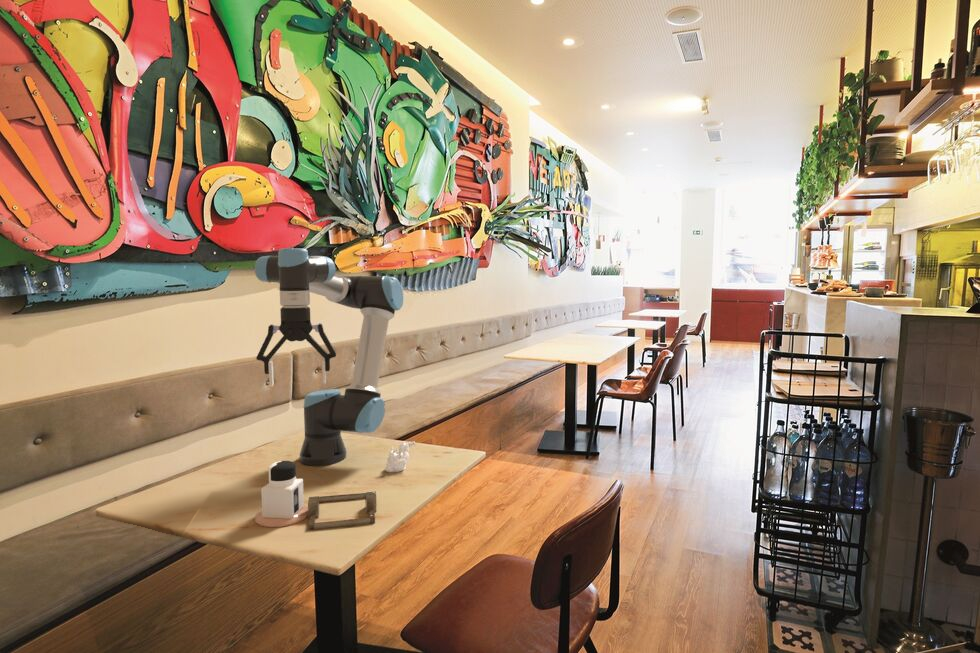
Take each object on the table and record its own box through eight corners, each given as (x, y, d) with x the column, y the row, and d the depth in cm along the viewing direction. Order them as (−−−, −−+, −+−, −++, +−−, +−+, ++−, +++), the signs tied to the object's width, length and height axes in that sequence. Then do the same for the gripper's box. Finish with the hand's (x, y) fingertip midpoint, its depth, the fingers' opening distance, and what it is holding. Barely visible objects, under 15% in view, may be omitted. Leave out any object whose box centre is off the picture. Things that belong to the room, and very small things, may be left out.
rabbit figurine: (405, 462, 184) (405, 433, 183) (423, 466, 180) (423, 437, 179) (379, 472, 174) (379, 442, 173) (397, 477, 170) (397, 446, 169)
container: (304, 506, 146) (303, 458, 145) (291, 519, 139) (289, 469, 138) (276, 505, 147) (274, 457, 146) (261, 518, 139) (260, 467, 138)
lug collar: (311, 501, 151) (310, 487, 151) (374, 496, 155) (374, 482, 155) (306, 530, 134) (305, 514, 134) (377, 523, 138) (377, 507, 138)
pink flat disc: (259, 507, 147) (259, 505, 147) (310, 503, 150) (310, 501, 150) (250, 529, 134) (250, 527, 134) (307, 524, 137) (307, 522, 137)
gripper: (242, 308, 141) (246, 390, 144) (343, 306, 148) (345, 384, 150) (247, 306, 149) (251, 383, 151) (343, 304, 155) (345, 379, 157)
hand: (298, 384), depth 151 cm, fingers open, 13 cm apart
